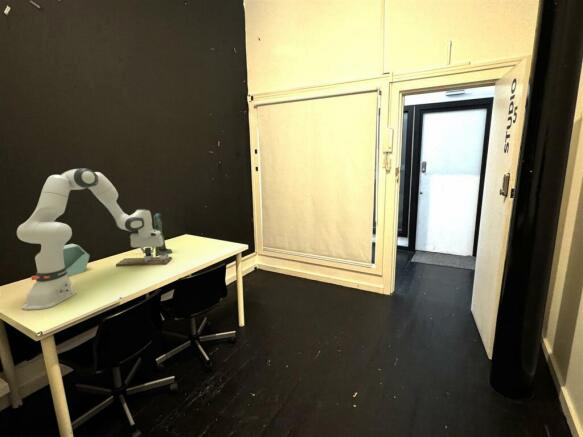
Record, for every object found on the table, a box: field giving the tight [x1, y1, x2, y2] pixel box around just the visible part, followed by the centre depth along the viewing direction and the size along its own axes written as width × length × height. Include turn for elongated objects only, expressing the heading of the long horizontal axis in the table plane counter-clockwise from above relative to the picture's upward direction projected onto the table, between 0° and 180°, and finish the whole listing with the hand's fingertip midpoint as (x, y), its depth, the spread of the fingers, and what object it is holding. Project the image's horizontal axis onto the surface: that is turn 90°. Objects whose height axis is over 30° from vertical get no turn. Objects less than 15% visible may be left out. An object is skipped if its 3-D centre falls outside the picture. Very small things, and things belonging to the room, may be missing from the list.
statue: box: [153, 213, 173, 257], centre depth 221 cm, size 7×11×30 cm, turn 124°
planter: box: [63, 243, 90, 277], centre depth 186 cm, size 17×8×21 cm
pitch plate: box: [115, 253, 173, 268], centre depth 204 cm, size 12×32×6 cm, turn 94°
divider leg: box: [143, 247, 154, 262], centre depth 202 cm, size 8×4×8 cm, turn 4°
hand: (148, 253), depth 203 cm, fingers closed on divider leg, 4 cm apart
